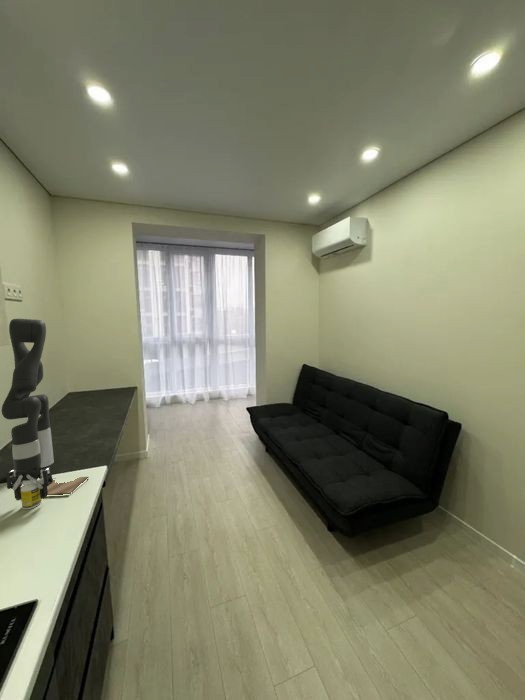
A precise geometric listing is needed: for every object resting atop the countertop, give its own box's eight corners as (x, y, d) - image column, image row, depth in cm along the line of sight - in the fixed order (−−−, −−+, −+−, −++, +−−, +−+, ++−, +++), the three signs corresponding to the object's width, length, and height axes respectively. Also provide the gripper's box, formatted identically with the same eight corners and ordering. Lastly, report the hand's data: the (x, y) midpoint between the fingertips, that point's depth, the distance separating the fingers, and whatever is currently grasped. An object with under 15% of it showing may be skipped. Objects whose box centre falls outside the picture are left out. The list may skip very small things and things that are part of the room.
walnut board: (21, 498, 108) (21, 495, 108) (45, 481, 120) (44, 479, 120) (69, 495, 108) (69, 492, 108) (88, 479, 120) (88, 476, 120)
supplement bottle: (33, 509, 100) (30, 482, 100) (18, 510, 100) (15, 483, 100) (45, 500, 106) (43, 474, 105) (31, 501, 106) (28, 475, 105)
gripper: (54, 448, 106) (59, 491, 107) (15, 450, 105) (20, 493, 106) (39, 457, 98) (43, 503, 99) (-3, 459, 98) (2, 505, 99)
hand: (31, 498), depth 103 cm, fingers open, 8 cm apart
